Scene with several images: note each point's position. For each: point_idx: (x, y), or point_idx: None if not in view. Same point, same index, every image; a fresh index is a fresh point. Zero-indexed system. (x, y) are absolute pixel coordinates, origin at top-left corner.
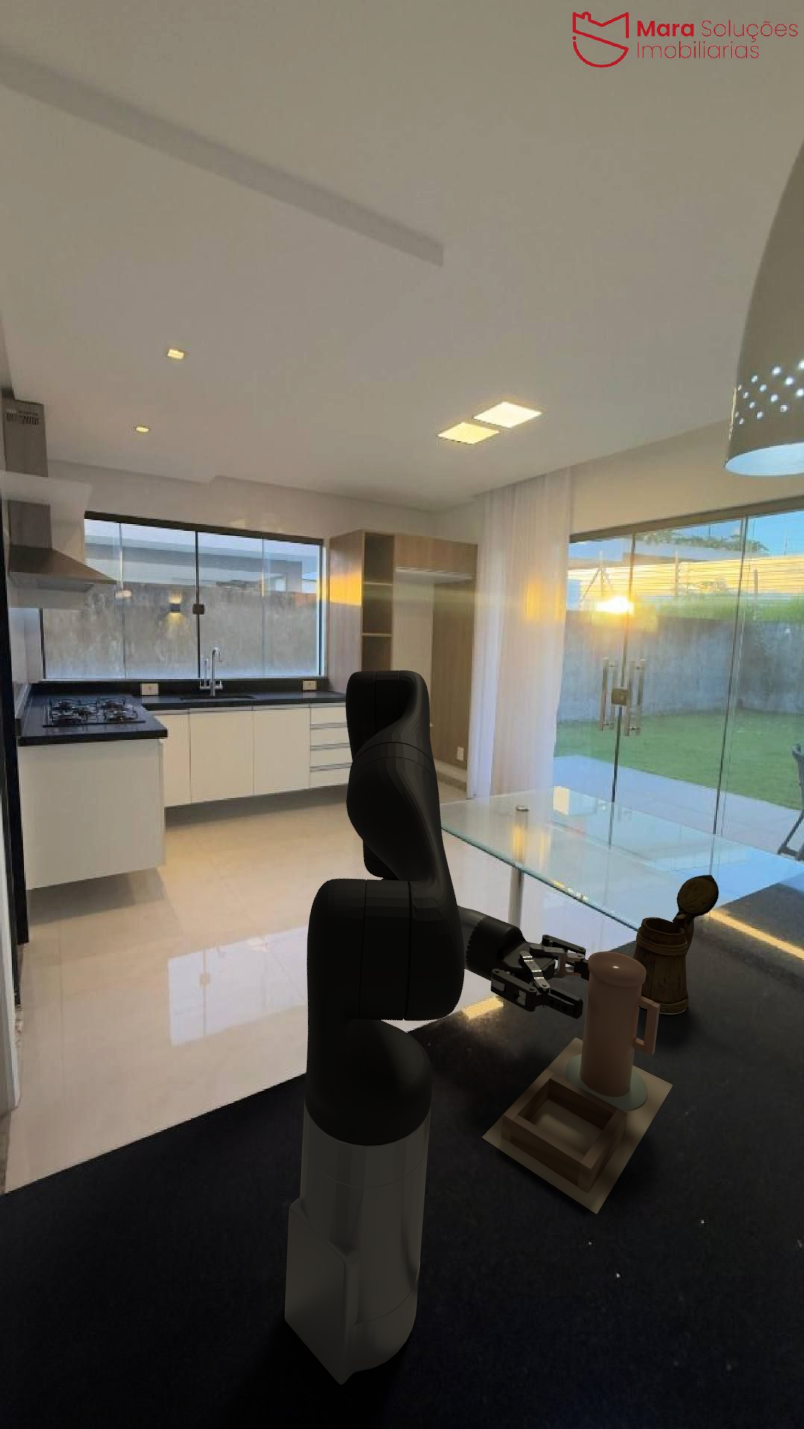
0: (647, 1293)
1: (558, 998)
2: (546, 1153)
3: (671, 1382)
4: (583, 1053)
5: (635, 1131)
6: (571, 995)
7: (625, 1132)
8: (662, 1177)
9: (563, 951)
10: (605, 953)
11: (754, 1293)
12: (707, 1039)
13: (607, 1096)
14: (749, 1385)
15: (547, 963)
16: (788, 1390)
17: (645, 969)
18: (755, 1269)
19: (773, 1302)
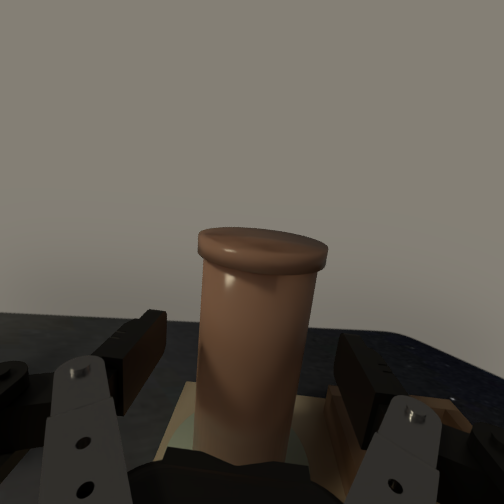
0: (434, 381)
1: (394, 377)
2: None
3: (459, 366)
4: (276, 458)
5: (305, 403)
6: (356, 347)
7: (318, 412)
8: (325, 385)
9: (90, 407)
10: (222, 242)
11: None
12: (33, 368)
13: None
14: (408, 342)
15: (228, 473)
16: (389, 332)
17: (237, 227)
18: None
19: None
